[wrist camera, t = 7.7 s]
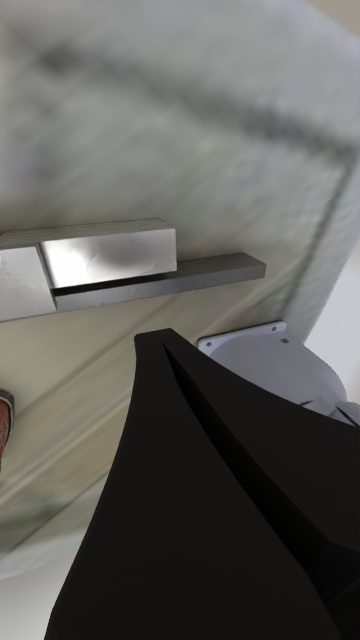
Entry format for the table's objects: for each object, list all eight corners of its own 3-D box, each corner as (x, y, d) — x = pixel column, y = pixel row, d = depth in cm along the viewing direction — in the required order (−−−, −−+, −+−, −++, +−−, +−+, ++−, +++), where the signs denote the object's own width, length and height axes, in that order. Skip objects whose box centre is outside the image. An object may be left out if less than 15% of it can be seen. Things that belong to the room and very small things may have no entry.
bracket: (248, 209, 18) (294, 219, 14) (242, 264, 20) (280, 287, 16) (-55, 234, 13) (-111, 261, 9) (-20, 304, 16) (-53, 349, 12)
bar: (159, 218, 16) (175, 228, 14) (161, 254, 18) (176, 270, 15) (4, 231, 14) (-15, 247, 11) (20, 272, 15) (6, 295, 12)
